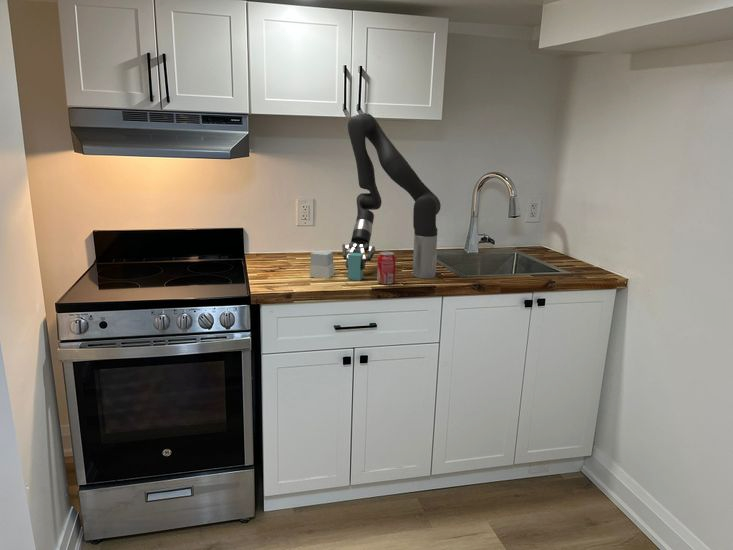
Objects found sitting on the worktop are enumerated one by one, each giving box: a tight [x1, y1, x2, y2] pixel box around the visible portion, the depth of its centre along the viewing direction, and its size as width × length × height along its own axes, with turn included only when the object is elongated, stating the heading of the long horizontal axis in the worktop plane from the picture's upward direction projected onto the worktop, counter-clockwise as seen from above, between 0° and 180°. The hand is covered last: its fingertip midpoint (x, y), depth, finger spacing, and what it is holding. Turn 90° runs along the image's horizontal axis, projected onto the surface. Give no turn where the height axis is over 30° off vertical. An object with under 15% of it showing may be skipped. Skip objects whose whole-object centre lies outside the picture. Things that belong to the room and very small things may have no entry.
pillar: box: [347, 253, 364, 281], centre depth 218 cm, size 5×5×10 cm
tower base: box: [309, 262, 336, 280], centre depth 222 cm, size 8×8×5 cm
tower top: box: [310, 249, 334, 267], centre depth 221 cm, size 7×7×5 cm
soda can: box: [376, 251, 397, 285], centre depth 213 cm, size 7×7×12 cm
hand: (354, 268), depth 217 cm, fingers closed on pillar, 5 cm apart
